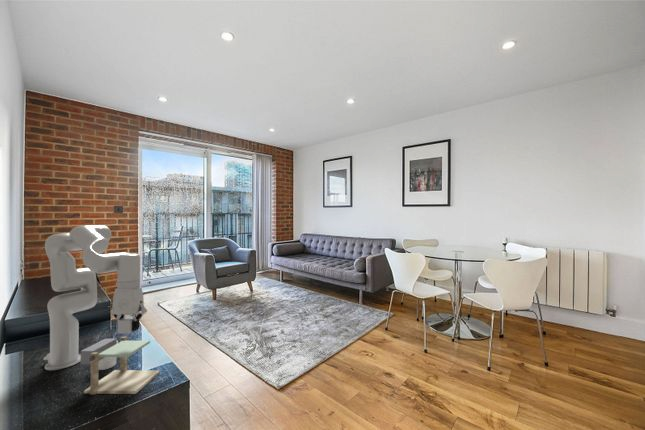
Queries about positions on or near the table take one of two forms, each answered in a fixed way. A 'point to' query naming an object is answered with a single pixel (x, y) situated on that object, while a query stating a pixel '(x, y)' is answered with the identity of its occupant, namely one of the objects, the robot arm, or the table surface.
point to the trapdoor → (112, 349)
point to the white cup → (107, 362)
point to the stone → (125, 325)
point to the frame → (118, 378)
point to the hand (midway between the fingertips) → (128, 329)
